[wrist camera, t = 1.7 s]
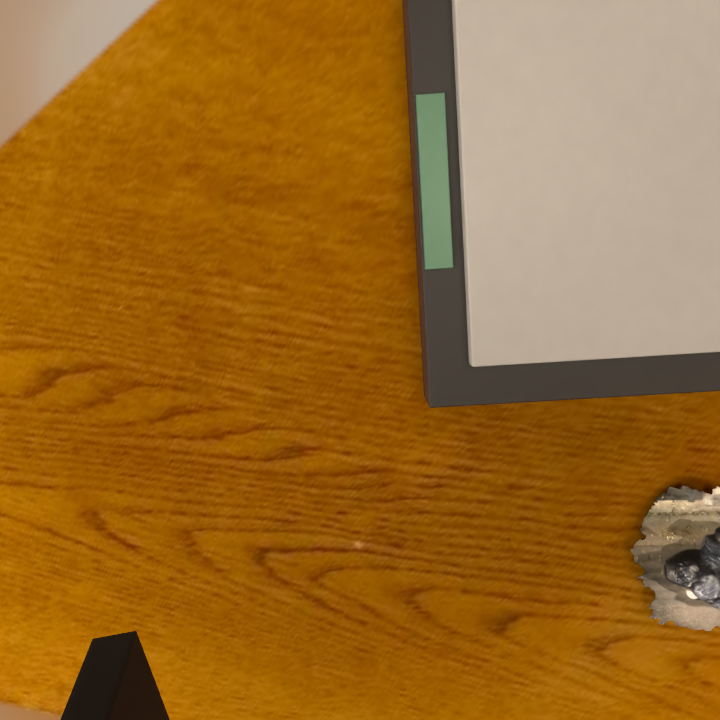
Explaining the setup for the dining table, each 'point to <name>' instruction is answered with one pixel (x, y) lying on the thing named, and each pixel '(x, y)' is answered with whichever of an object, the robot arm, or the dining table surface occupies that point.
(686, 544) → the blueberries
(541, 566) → the dining table surface
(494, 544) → the dining table surface
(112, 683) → the robot arm
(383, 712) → the dining table surface
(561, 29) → the scale
